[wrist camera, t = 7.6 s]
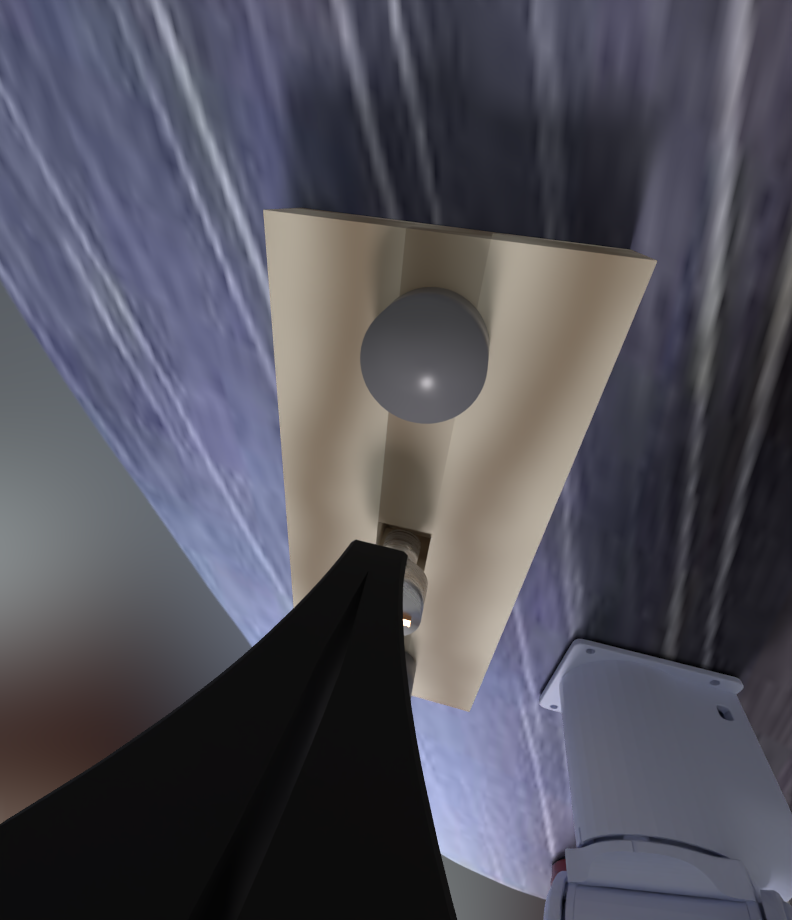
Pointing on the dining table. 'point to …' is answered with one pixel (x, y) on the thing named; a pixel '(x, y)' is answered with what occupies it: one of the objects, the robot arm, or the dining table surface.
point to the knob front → (426, 355)
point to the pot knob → (410, 577)
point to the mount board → (449, 442)
